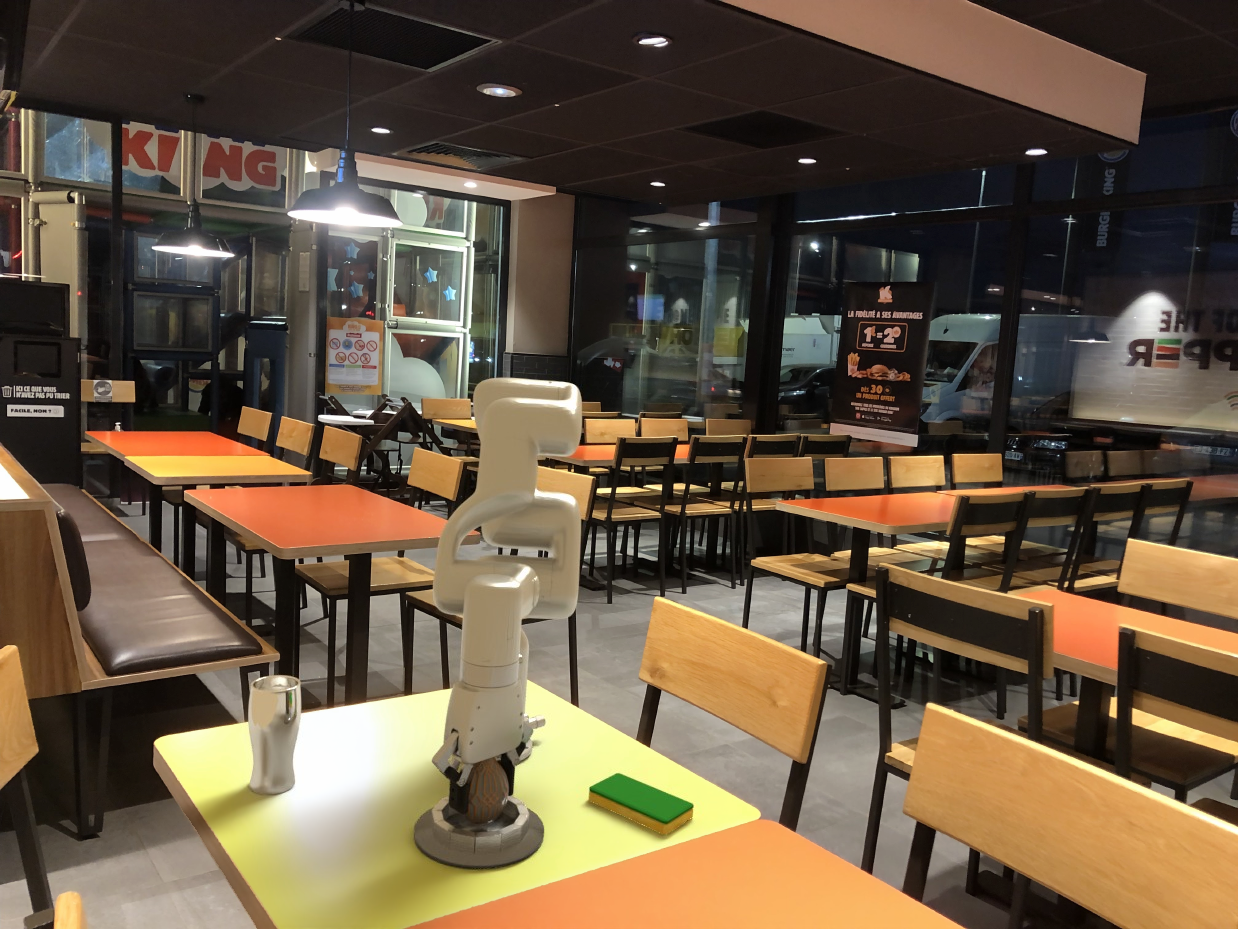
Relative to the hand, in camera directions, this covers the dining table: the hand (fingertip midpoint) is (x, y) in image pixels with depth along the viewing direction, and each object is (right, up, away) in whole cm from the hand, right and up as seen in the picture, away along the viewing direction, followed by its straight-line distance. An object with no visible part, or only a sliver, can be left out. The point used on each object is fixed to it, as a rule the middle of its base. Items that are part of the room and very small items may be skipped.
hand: (481, 800), depth 122 cm
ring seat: (0, -5, 0) cm, 5 cm away
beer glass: (-31, -1, +9) cm, 32 cm away
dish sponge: (+21, -6, +11) cm, 24 cm away
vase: (0, -2, 0) cm, 3 cm away
